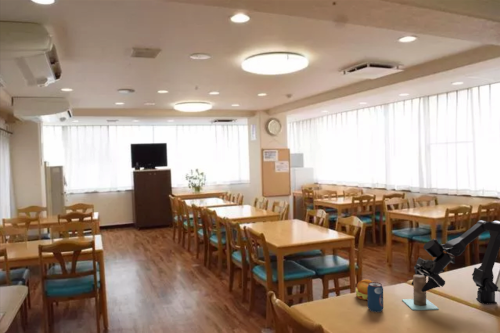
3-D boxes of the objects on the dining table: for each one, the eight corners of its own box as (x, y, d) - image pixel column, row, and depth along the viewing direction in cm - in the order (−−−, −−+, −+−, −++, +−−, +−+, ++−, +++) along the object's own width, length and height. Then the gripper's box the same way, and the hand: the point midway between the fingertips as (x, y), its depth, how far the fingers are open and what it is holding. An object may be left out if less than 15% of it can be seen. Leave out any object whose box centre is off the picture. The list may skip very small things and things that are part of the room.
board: (426, 299, 192) (426, 298, 192) (438, 309, 180) (438, 308, 180) (402, 300, 192) (402, 299, 192) (412, 310, 180) (412, 308, 180)
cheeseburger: (374, 293, 202) (375, 276, 199) (378, 306, 192) (379, 288, 189) (353, 292, 203) (354, 275, 200) (357, 305, 193) (358, 287, 190)
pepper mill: (426, 302, 187) (425, 275, 187) (426, 306, 182) (426, 278, 182) (413, 300, 189) (413, 274, 189) (413, 305, 184) (413, 277, 184)
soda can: (384, 313, 177) (384, 286, 177) (368, 312, 178) (368, 286, 178) (382, 307, 184) (382, 281, 183) (366, 306, 185) (366, 281, 185)
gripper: (417, 247, 195) (396, 270, 194) (438, 257, 176) (415, 282, 175) (432, 262, 195) (411, 285, 195) (455, 273, 177) (432, 299, 176)
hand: (416, 287), depth 185 cm, fingers open, 9 cm apart
